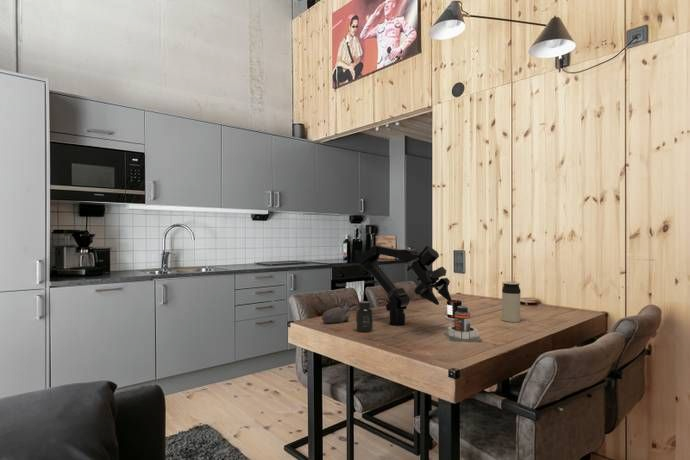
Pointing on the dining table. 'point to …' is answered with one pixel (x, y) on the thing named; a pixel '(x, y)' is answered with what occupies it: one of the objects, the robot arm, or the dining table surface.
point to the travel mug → (511, 301)
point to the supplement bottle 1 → (364, 317)
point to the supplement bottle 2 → (462, 319)
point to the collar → (463, 335)
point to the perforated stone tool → (336, 315)
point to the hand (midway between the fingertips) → (444, 302)
